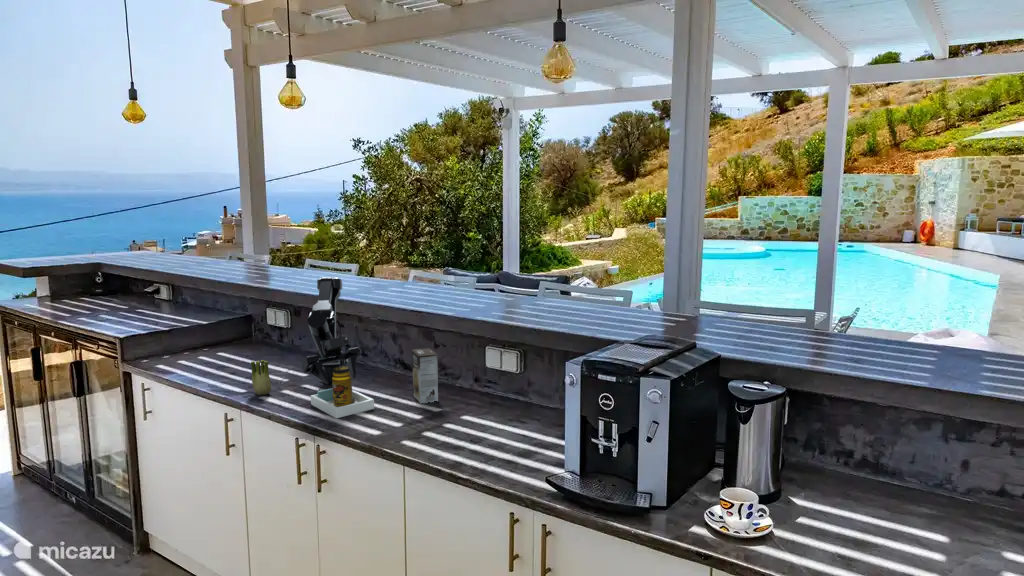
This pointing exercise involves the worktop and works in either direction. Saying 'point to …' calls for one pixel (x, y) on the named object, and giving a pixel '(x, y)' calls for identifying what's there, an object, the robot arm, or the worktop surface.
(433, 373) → the coffee box
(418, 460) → the worktop surface
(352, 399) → the condiment
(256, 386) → the fennel bulb
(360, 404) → the pale mint tray
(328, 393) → the plate
